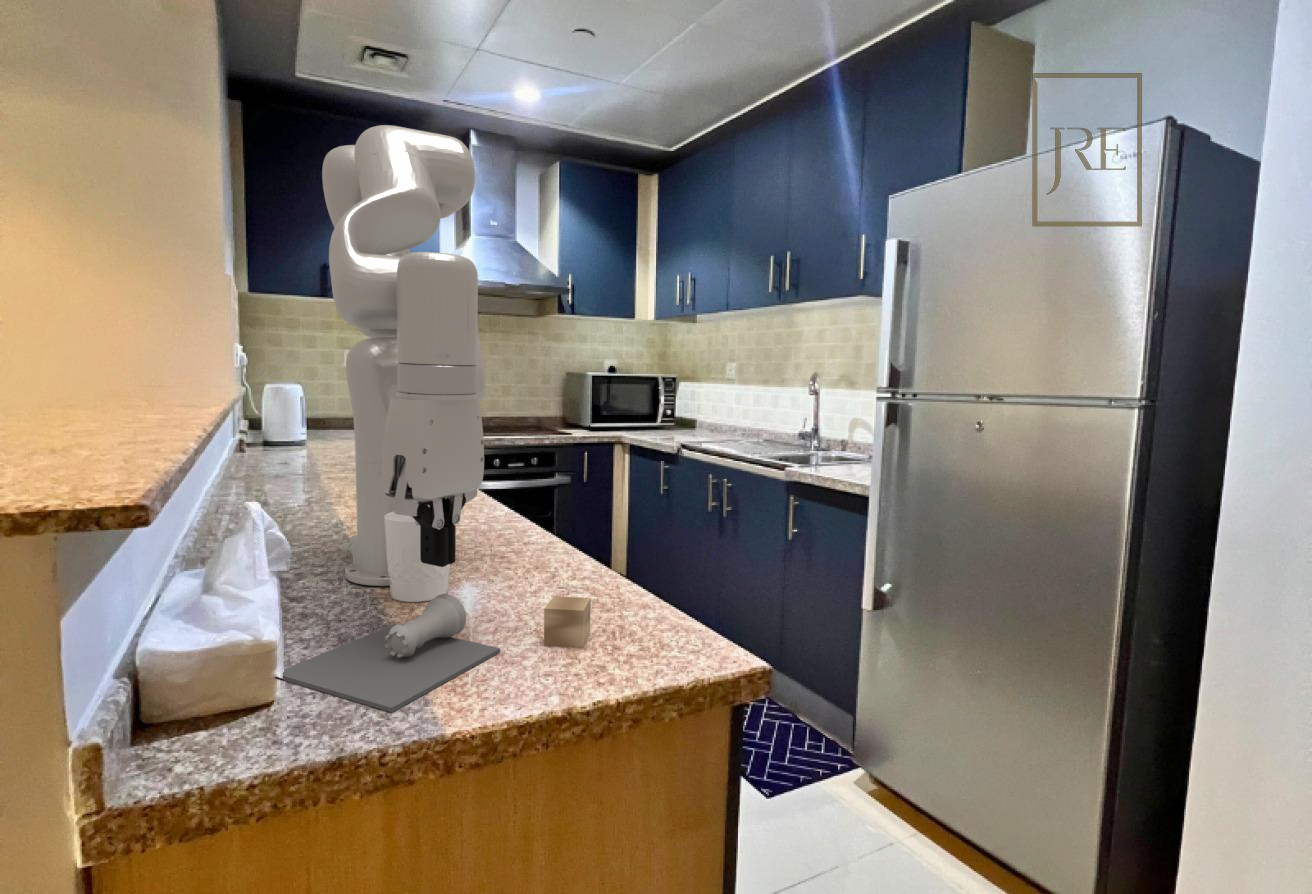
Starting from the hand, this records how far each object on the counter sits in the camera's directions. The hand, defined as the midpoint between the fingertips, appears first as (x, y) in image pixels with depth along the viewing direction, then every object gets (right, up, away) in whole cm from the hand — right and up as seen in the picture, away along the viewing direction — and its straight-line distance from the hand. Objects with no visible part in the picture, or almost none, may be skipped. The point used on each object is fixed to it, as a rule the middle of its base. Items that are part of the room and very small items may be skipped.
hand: (437, 562), depth 71 cm
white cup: (-7, -7, +15) cm, 18 cm away
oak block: (+13, -8, +1) cm, 16 cm away
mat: (-2, -9, -6) cm, 11 cm away
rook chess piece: (+1, -5, +1) cm, 6 cm away
